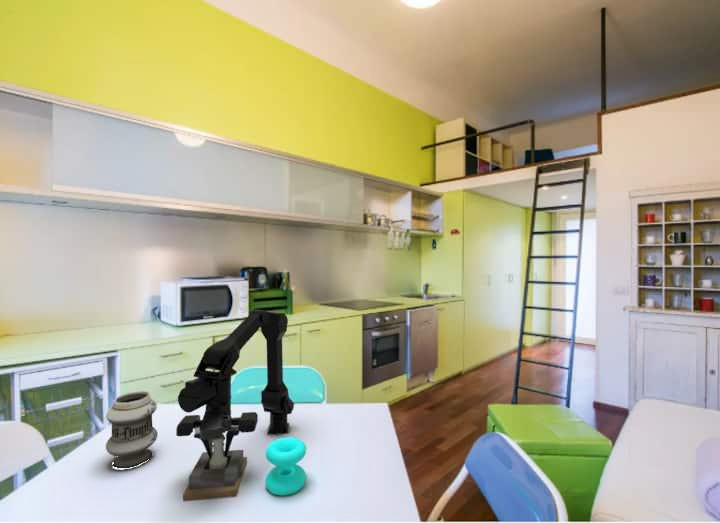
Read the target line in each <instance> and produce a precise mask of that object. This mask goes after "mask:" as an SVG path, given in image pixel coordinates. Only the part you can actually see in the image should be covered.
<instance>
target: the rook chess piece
mask: <svg viewBox="0 0 720 523" xmlns="http://www.w3.org/2000/svg"><path fill="white" fill-rule="evenodd" d="M225 441H226V436H225V434H224V433H223V434H222V437H221V438H219V439H212V442H213V456H212V458H211V460H210V462H209V464H210V465H209V468H210V469H221V468H225V467H226V466H227V463H228V462H227V457H225V454H224V451H225V447H224V446H225Z"/></svg>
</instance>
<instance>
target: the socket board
mask: <svg viewBox="0 0 720 523" xmlns="http://www.w3.org/2000/svg"><path fill="white" fill-rule="evenodd" d="M224 454H225V450H224ZM212 456H213V452H212ZM211 458H212V457H211ZM211 458H209V456H208V453H207V451H203V452H202V453H201V454H200V456H199V458H198V460H197V462H196V463H195V466H193V469H192V470H191V473H190V474H189V475H188V485H187V486H186V488H185V490H184V492H183V493H182V501H183V502H184V501H185V502H186V501H195V500H197V501H199V500H209V499H219V498H234V497H235V498H236V497H237V495H238V492H239V490H240V486H241V482H242V479H243V476H244V473H245V470H246V466H247V464H248V456H244V449H237V450H236V449H235V450H234V449H233V450H229V451H228V454H227V462H228V463H227V466H226V467H225V468H221V469H210V468H209V465H210V464H209V462H210V460H211Z"/></svg>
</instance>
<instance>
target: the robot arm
mask: <svg viewBox="0 0 720 523" xmlns="http://www.w3.org/2000/svg"><path fill="white" fill-rule="evenodd" d="M288 324H289V319H288V316H287V315H286V314H285V313H284V312H277V311H276V312H275V311H273V312H272V311H267V310H265V309H264V310H263V309H261V310H260V309H253V310H251V311H250V312H249V313H248V316H246V317H245V319H244V320H242V321H241V323H240V324H239V325H238V326H237V327H235V329H234V330H232V332H231V333H229V335H228V336H226V337H225V338H223V339H221V340H219V341H216V342H214V343H213V344H211V345H210V346H209V347H207V348H206V350H205V351H204V352H203V355H202V357H201V359H200V362H199V363H198V365H197V367H196V369H195V372H194V374H193V378H194V379H191V380H187V381H185V383H184V384H185V385H184V387H183V388H182V389H181V390H180V392H179V394H178V395H177V402H178V405H179V407H180V409H181V410H182V411H183V412H185V413H187V415H185V416H184V417H183V418H182V419H181V420H180V421H179V422H178V423H177V426H176V428H175V429H176V431H175V433H176V434H175V436H176V437H189V436H190V435H191V434H193V432H194V435H193V438H194V439H199V440H200V441H201V442H202V444H203V447H204V448H205V452H207V453H208V456H209V458H211V457H212V452H213V445H214V443H213V442H212V439H219V438H221V437H222V434H224V433H226V434H225V444H224V446H225V447H224V451H225V457H227V454H228V451H230V448H231V445H232V443H233V439H234V437H237V436H238V435H240V433H242V434H243V433H253V432H255V431H256V428H257V425H258V422H259V421H258V419H259V418H258V417H259V416H258V413H257V412H255V411H251V412H250V411H249V412H248V411H247V412H241V415H240V416H239V417H237V416H236V417H232V410H231V409H232V376H234V375H236V374H237V370H235V369H234V366H235V364H236V363H237V362H238V360H239V358H240V355H241V353H240V352H241V350H242V349H243V348H244V346H245V345H246V344H247V343H248V342H249V341H250V339H252V338H253V336H254V335H255V334H256V333H257V332H258V331H259V329H260V331H261V332H260V333H261V334H262V335H263V337H264V339H265V341H266V369H267V370H266V373H267V374H266V376H267V377H266V379H267V380H266V381H267V382H266V386H265V387H264V388H263V389H262V390H261V392H260V395H261V398H260V399H261V400H260V403H261V405H262V408H263V412H265V413H269V424H268V430H267V435H280V434H281V435H283V434H288V433H289V427H290V423H289V422H288V415H291V414H293V411H294V407H295V403H294V401H293V400H292V399H291V398H290V397H289V396H290V395H289V389H288V387H287V385H286V383H285V382H284V372H283V371H284V369H283V368H284V367H283V366H284V365H283V360H284V359H283V339H284V336H285V334H286V333H287V330H288ZM213 370H214V371H213ZM204 406H205V411H204V415H203V417H202V419H201V416H200V414H193V415H192V414H191V415H188V413H192V412H195V411H197V410H198V409H200V408H202V407H204Z"/></svg>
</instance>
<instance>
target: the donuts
mask: <svg viewBox="0 0 720 523" xmlns="http://www.w3.org/2000/svg"><path fill="white" fill-rule="evenodd" d="M306 453H307V447H306V443H305V442H304V441H303V440H302V439H301V438H298V437H291V436H289V437H288V436H285V437H280V438H277V439H275V440H274V441H271V443H270V444H268V446H267V448H266V450H265V457H266V459H267V461H268V462H269V463H270V464H272V465H273V466H274V467H273V468H271V469H270V470H269V472H268V473H267V475H266V476H265V482H264V483H265V487H266V489H267V490H268V491H269V492H270V493H271V494H274V495H276V496H277V495H278V496H288V495H289V496H290V495H292V494H295V493H297V492H298V491H299V490H301V489H302V488H303V486H304V484H305V483H306V479H307V474H306V472H305V470H304V469H303V467H302V466H300V465H299V463H300V462H301V461H302V460H303V459H304V457H305V456H306Z"/></svg>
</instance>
